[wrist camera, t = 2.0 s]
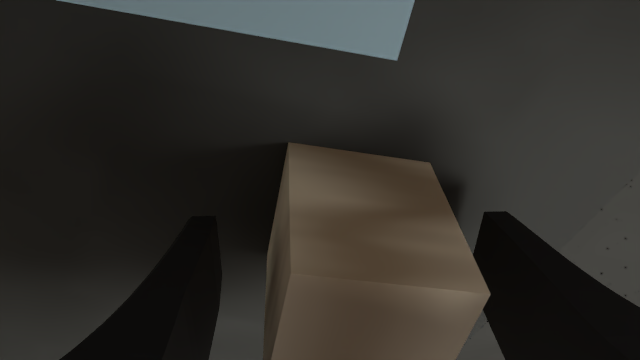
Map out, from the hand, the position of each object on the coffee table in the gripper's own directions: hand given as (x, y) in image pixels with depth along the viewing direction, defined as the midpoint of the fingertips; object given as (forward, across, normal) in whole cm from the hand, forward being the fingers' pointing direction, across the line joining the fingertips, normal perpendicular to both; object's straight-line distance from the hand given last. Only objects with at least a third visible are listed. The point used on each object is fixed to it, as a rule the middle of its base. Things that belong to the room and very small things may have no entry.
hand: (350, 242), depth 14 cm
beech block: (+2, 0, 0) cm, 2 cm away
